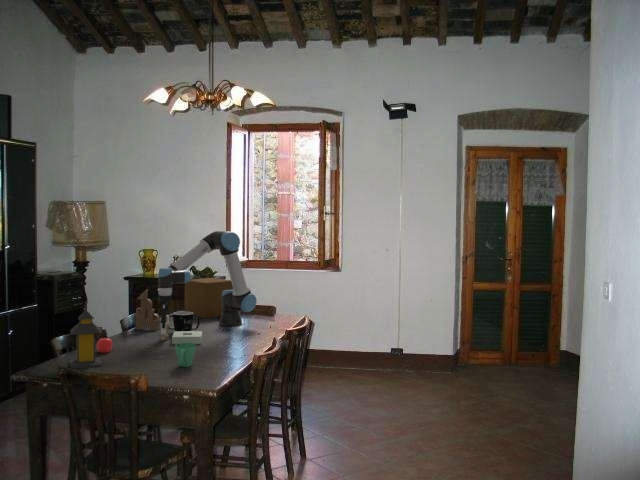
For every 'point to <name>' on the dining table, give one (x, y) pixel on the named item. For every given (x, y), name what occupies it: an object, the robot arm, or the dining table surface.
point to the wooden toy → (141, 314)
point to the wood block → (205, 296)
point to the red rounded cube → (104, 345)
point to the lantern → (85, 342)
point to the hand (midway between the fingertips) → (164, 331)
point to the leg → (165, 336)
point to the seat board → (187, 337)
